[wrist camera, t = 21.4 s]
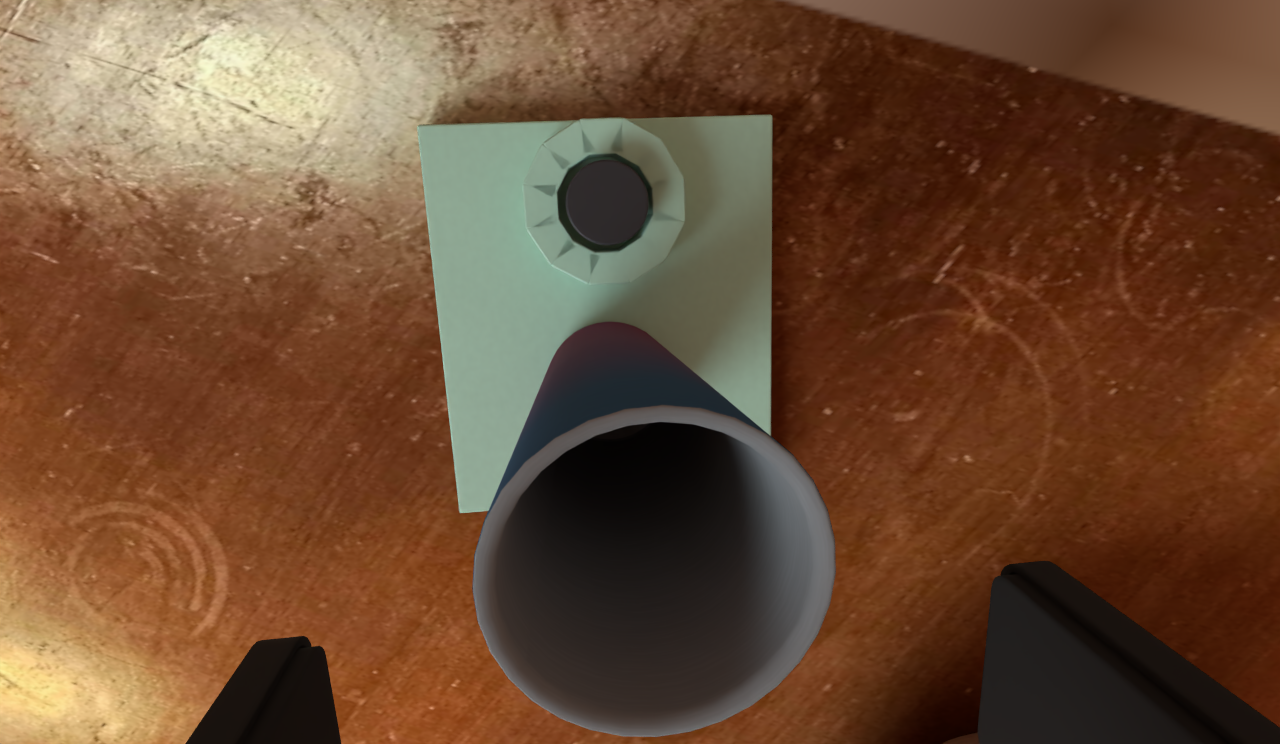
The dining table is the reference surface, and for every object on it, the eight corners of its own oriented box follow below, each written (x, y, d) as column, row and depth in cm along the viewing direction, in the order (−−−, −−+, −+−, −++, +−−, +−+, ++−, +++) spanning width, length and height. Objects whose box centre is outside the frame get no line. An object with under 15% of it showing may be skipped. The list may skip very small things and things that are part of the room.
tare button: (563, 163, 24) (562, 160, 22) (642, 161, 24) (647, 157, 23) (568, 245, 25) (568, 247, 23) (645, 241, 25) (650, 243, 23)
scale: (424, 129, 26) (406, 118, 23) (762, 119, 27) (786, 107, 24) (464, 500, 29) (452, 531, 26) (762, 476, 30) (783, 504, 27)
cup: (634, 263, 26) (718, 329, 12) (726, 404, 28) (898, 614, 13) (488, 362, 26) (392, 545, 12) (587, 495, 28) (608, 797, 14)
